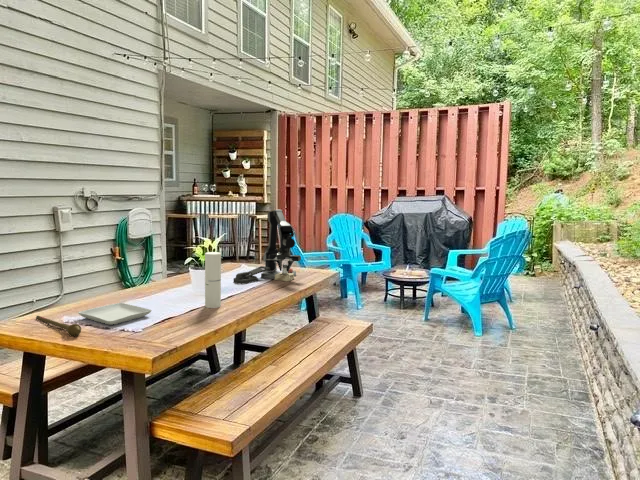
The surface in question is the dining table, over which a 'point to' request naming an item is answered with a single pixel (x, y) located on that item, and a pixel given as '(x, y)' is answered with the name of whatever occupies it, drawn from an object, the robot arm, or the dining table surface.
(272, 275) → the socket block
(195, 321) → the dining table surface
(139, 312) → the salad plate
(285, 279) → the rack
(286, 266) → the drill peg
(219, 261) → the cylindrical container
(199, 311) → the dining table surface
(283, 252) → the robot arm
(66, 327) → the ball ended rod
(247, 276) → the dark grey stapler
